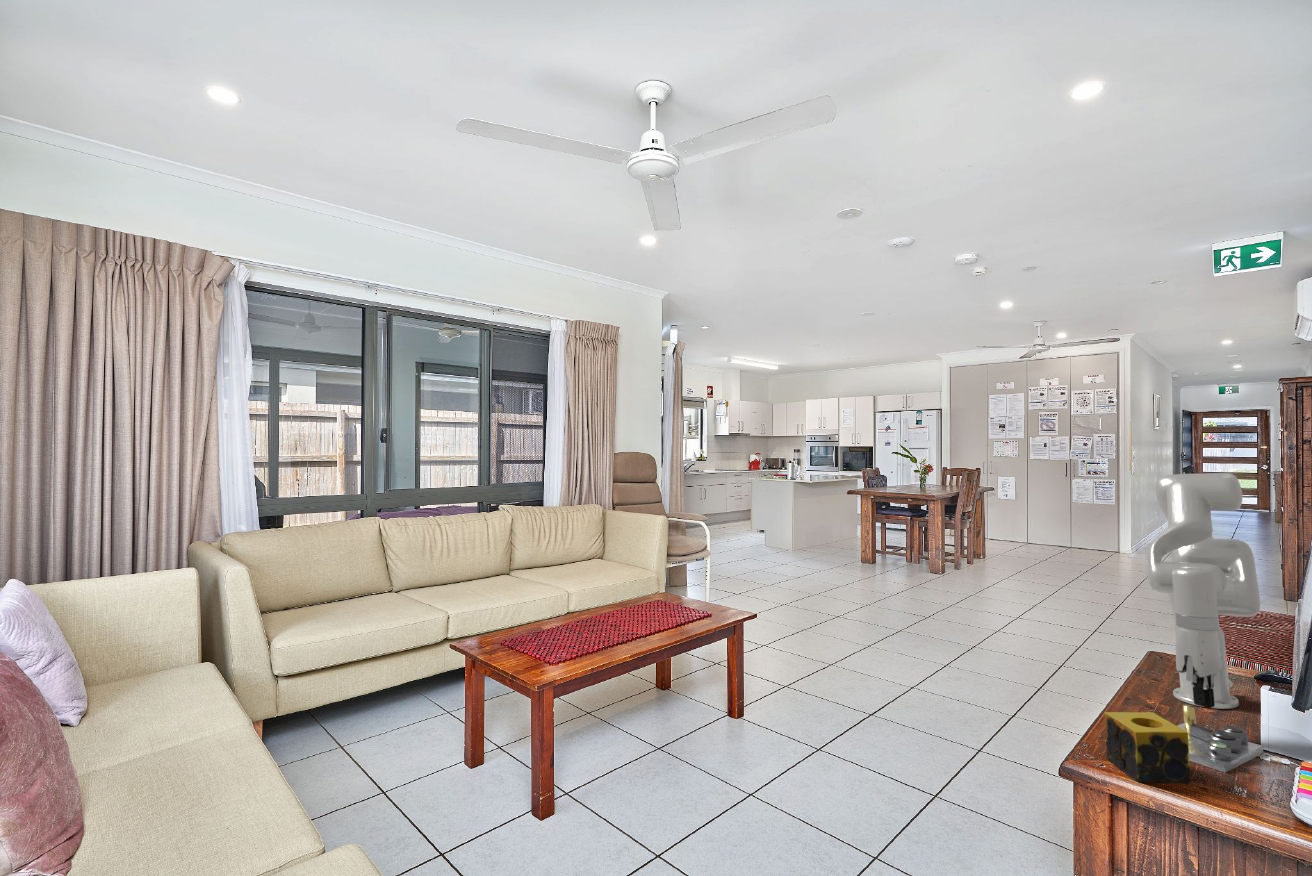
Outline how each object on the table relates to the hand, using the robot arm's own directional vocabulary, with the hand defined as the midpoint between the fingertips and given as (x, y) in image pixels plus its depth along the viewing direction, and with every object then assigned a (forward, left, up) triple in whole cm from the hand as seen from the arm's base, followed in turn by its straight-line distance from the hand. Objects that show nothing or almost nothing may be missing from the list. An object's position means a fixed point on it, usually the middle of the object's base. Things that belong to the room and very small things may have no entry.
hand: (1204, 705), depth 141 cm
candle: (+28, +2, -7) cm, 29 cm away
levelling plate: (+9, +3, -7) cm, 11 cm away
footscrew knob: (+7, +4, -5) cm, 9 cm away
